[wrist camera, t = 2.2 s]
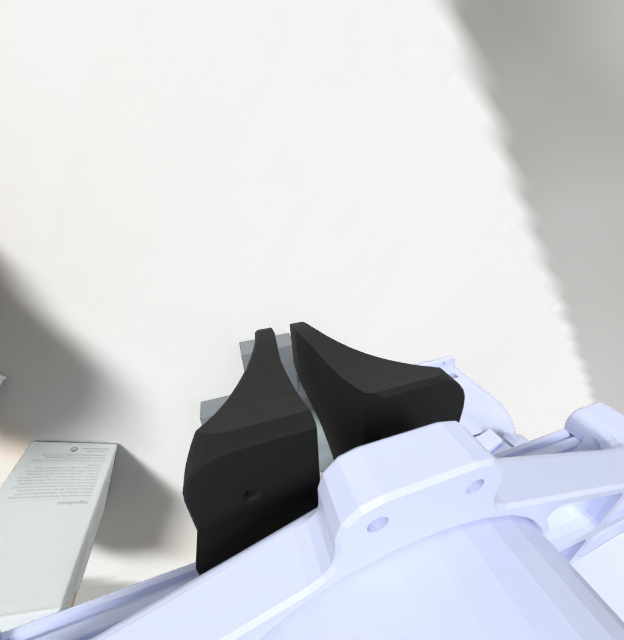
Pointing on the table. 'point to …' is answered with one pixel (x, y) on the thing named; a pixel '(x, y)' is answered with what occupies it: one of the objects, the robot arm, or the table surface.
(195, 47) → the table surface
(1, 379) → the external hard drive
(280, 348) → the tray
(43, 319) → the table surface
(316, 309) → the table surface
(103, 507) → the small box
